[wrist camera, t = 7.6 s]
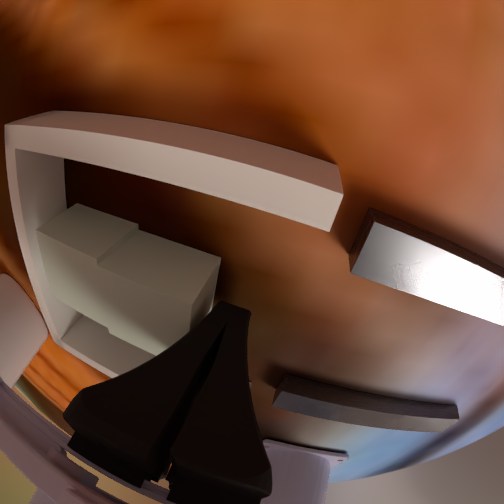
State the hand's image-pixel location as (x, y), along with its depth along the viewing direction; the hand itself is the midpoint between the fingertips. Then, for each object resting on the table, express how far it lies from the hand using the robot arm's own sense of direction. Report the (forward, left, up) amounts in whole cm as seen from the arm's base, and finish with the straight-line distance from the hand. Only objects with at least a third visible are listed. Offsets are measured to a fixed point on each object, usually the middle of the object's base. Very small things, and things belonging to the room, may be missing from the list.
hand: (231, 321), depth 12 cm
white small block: (0, +3, -1) cm, 3 cm away
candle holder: (-12, +21, -1) cm, 24 cm away
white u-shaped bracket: (0, +5, -1) cm, 5 cm away
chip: (0, +7, -1) cm, 7 cm away
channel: (0, -10, -1) cm, 10 cm away
